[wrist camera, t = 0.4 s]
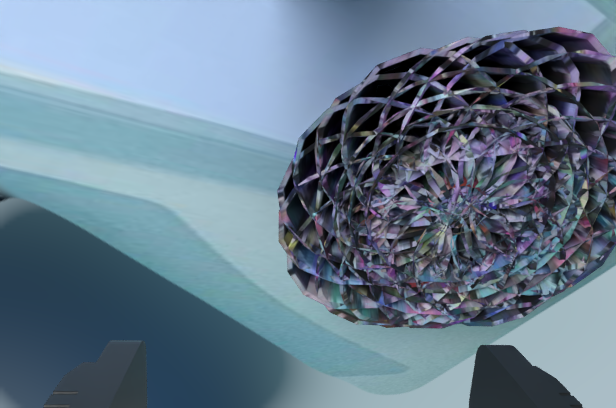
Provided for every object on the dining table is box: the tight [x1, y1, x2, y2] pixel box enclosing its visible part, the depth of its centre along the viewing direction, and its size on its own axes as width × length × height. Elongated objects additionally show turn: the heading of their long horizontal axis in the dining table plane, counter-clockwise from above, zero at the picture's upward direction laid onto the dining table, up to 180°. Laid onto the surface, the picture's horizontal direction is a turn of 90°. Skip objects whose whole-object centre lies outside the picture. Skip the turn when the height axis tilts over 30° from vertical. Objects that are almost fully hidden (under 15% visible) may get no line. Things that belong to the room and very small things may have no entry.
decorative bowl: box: [277, 27, 616, 328], centre depth 40 cm, size 26×28×10 cm
